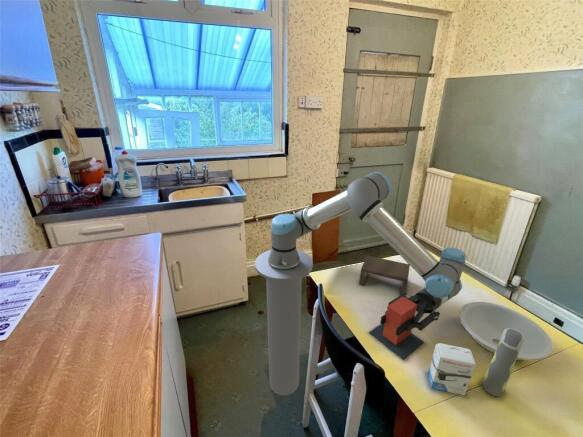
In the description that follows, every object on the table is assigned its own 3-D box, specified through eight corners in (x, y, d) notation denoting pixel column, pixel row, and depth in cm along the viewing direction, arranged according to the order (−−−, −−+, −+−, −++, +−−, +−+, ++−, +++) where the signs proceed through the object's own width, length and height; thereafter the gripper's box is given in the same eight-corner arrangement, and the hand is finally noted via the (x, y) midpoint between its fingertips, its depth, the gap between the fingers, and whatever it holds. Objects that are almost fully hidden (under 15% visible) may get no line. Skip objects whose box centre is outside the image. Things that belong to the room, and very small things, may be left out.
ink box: (430, 389, 77) (439, 357, 72) (427, 373, 81) (435, 342, 77) (465, 396, 75) (477, 364, 70) (460, 379, 79) (470, 348, 75)
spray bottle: (505, 389, 77) (529, 332, 69) (500, 401, 74) (525, 343, 66) (484, 377, 80) (505, 321, 72) (479, 388, 77) (500, 331, 69)
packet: (382, 335, 92) (387, 305, 88) (397, 325, 97) (403, 296, 92) (395, 345, 89) (401, 315, 84) (410, 334, 93) (417, 304, 88)
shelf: (359, 284, 120) (361, 268, 117) (364, 270, 130) (366, 255, 127) (404, 296, 113) (408, 279, 110) (406, 280, 123) (409, 264, 120)
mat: (369, 333, 95) (369, 331, 95) (389, 319, 101) (390, 318, 101) (403, 360, 85) (403, 358, 85) (423, 343, 91) (424, 341, 91)
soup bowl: (448, 310, 105) (452, 296, 103) (523, 324, 99) (529, 309, 97) (465, 364, 84) (470, 347, 82) (562, 385, 78) (571, 368, 76)
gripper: (454, 321, 95) (413, 355, 82) (406, 293, 108) (365, 318, 95) (459, 303, 92) (418, 335, 79) (409, 276, 105) (367, 300, 93)
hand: (389, 326), depth 87 cm, fingers closed on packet, 5 cm apart
